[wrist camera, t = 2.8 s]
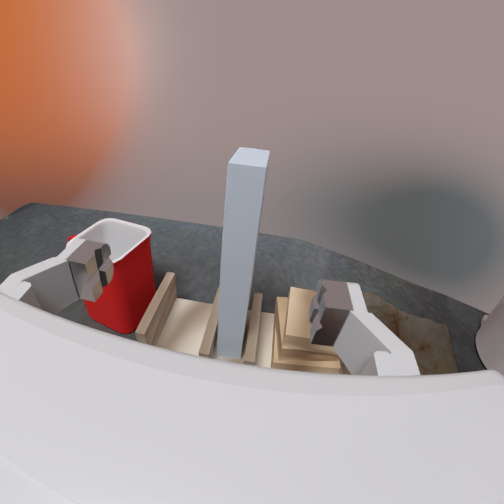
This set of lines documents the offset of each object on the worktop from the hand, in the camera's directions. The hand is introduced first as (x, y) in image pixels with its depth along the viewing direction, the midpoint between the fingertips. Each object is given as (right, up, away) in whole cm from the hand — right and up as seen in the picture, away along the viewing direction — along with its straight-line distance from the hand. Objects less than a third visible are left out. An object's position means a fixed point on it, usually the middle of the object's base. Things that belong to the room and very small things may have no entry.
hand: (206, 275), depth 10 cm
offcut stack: (+7, -10, +20) cm, 24 cm away
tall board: (0, -9, +21) cm, 22 cm away
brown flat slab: (+21, -13, +22) cm, 33 cm away
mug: (-17, -6, +25) cm, 31 cm away
